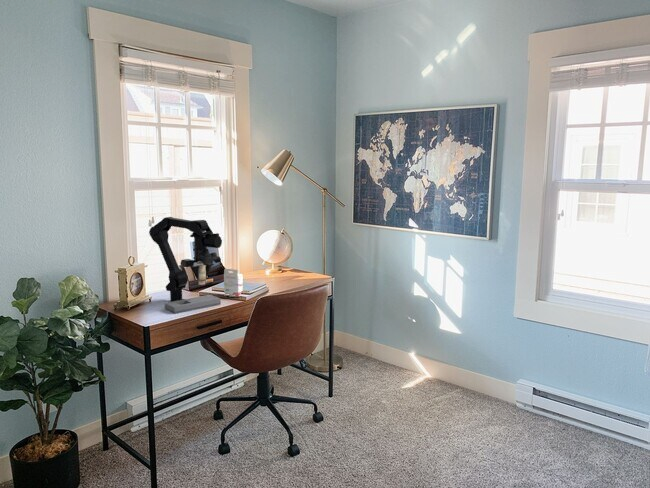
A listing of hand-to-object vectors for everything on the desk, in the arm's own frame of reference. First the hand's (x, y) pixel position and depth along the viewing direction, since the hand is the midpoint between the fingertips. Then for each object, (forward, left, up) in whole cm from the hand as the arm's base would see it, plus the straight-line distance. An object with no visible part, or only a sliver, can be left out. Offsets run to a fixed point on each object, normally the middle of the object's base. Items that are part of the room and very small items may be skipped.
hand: (201, 278), depth 252 cm
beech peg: (0, 0, -2) cm, 2 cm away
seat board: (+3, -4, -13) cm, 14 cm away
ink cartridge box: (-18, +11, -13) cm, 25 cm away
